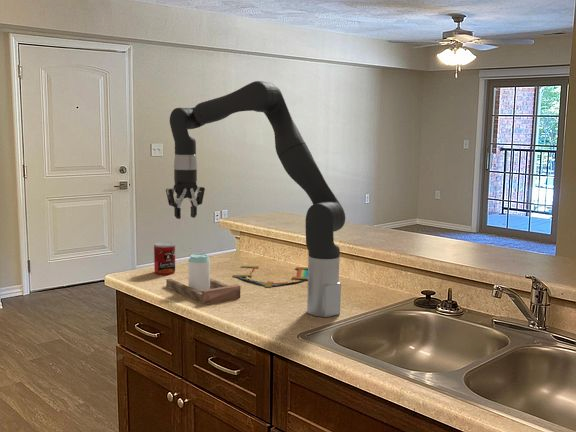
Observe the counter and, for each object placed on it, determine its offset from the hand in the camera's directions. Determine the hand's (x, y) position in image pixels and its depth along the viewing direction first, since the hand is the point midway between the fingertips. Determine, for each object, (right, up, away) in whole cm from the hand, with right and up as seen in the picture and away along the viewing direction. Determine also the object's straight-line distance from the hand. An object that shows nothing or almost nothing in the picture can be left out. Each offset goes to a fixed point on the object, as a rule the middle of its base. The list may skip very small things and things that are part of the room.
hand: (185, 217), depth 210 cm
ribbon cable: (+29, -22, +16) cm, 40 cm away
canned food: (-11, -21, +20) cm, 31 cm away
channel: (+6, -25, -5) cm, 26 cm away
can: (+5, -25, -4) cm, 25 cm away
